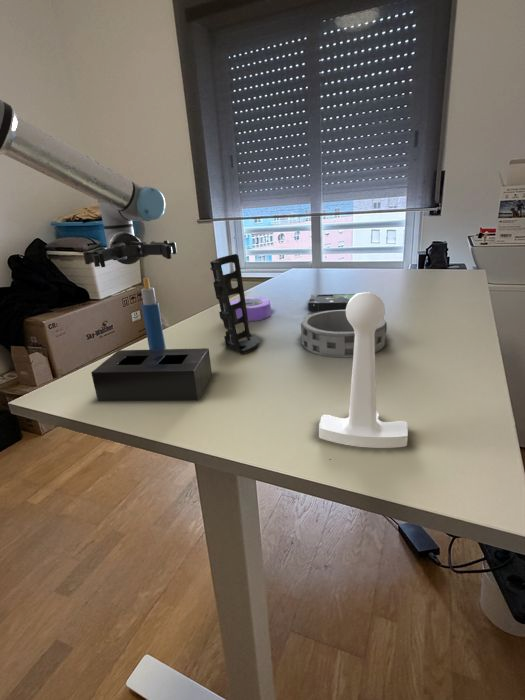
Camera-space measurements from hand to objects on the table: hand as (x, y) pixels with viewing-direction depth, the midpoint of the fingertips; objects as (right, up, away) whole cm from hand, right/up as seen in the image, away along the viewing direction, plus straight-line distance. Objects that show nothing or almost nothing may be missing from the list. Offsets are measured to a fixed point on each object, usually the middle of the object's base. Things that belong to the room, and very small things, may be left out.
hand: (136, 256), depth 85 cm
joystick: (+40, -31, -30) cm, 59 cm away
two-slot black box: (+8, -27, -13) cm, 31 cm away
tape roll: (+23, -10, +30) cm, 39 cm away
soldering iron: (+5, -23, -1) cm, 23 cm away
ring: (+44, -18, +4) cm, 48 cm away
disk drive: (+47, -7, +32) cm, 58 cm away
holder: (+21, -19, +6) cm, 29 cm away
